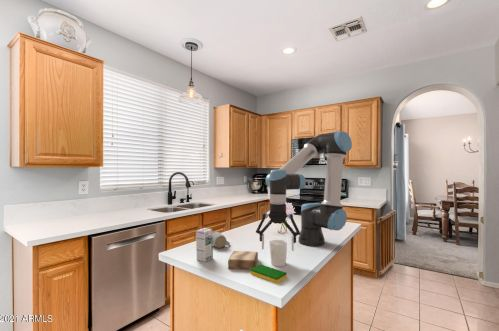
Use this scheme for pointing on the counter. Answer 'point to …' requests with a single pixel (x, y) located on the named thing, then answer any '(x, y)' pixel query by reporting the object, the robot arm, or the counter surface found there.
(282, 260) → the white cup
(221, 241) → the ceramic mug
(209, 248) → the syrup box
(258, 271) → the dish sponge
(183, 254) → the counter surface
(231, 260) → the walnut plinth
